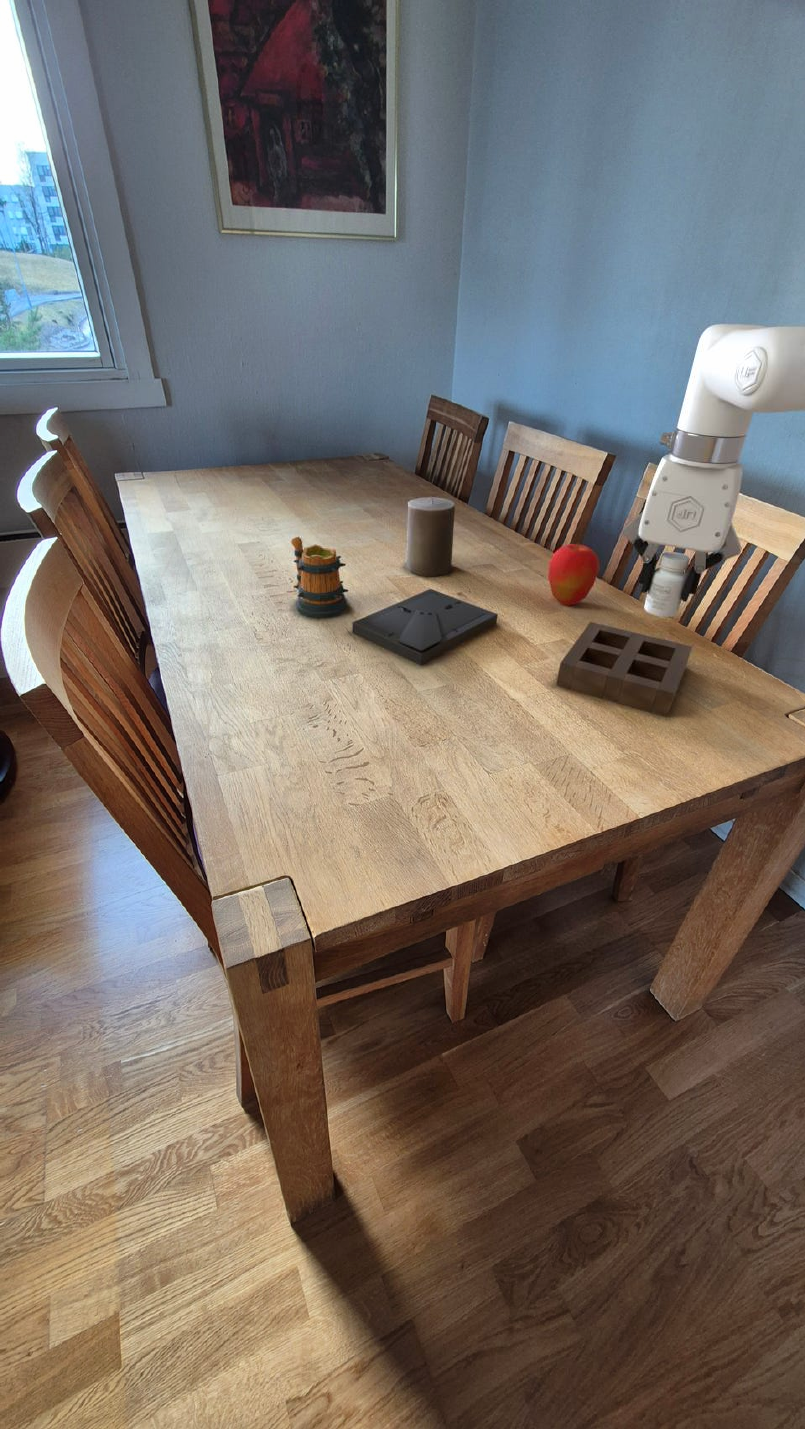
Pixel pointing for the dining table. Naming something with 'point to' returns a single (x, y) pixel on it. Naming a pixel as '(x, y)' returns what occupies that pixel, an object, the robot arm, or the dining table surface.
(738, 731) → the dining table surface
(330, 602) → the mug
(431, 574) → the pillar candle
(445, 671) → the dining table surface
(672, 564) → the pill bottle
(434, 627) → the picture frame
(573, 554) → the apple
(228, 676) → the dining table surface
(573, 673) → the grid rack
